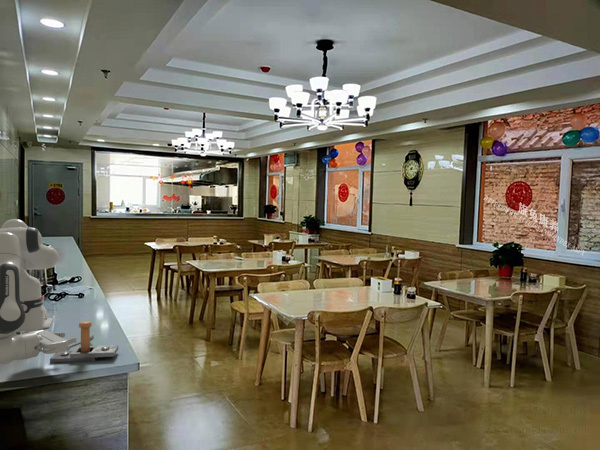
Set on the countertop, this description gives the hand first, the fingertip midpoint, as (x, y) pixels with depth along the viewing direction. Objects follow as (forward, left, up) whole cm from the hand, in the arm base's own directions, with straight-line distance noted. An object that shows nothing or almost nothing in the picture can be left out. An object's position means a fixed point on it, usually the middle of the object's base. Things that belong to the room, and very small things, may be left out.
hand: (69, 336), depth 171 cm
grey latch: (-4, +5, -10) cm, 11 cm away
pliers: (-22, -1, -10) cm, 24 cm away
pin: (-4, +5, -10) cm, 11 cm away
